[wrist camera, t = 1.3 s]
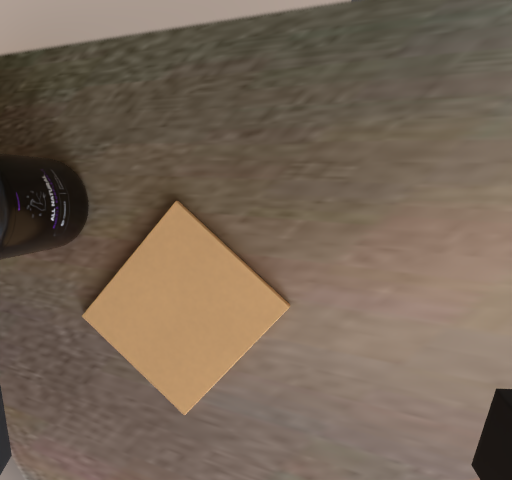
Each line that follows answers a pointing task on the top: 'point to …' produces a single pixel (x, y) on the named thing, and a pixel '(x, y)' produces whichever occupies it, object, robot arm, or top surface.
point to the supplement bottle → (39, 205)
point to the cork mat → (184, 308)
